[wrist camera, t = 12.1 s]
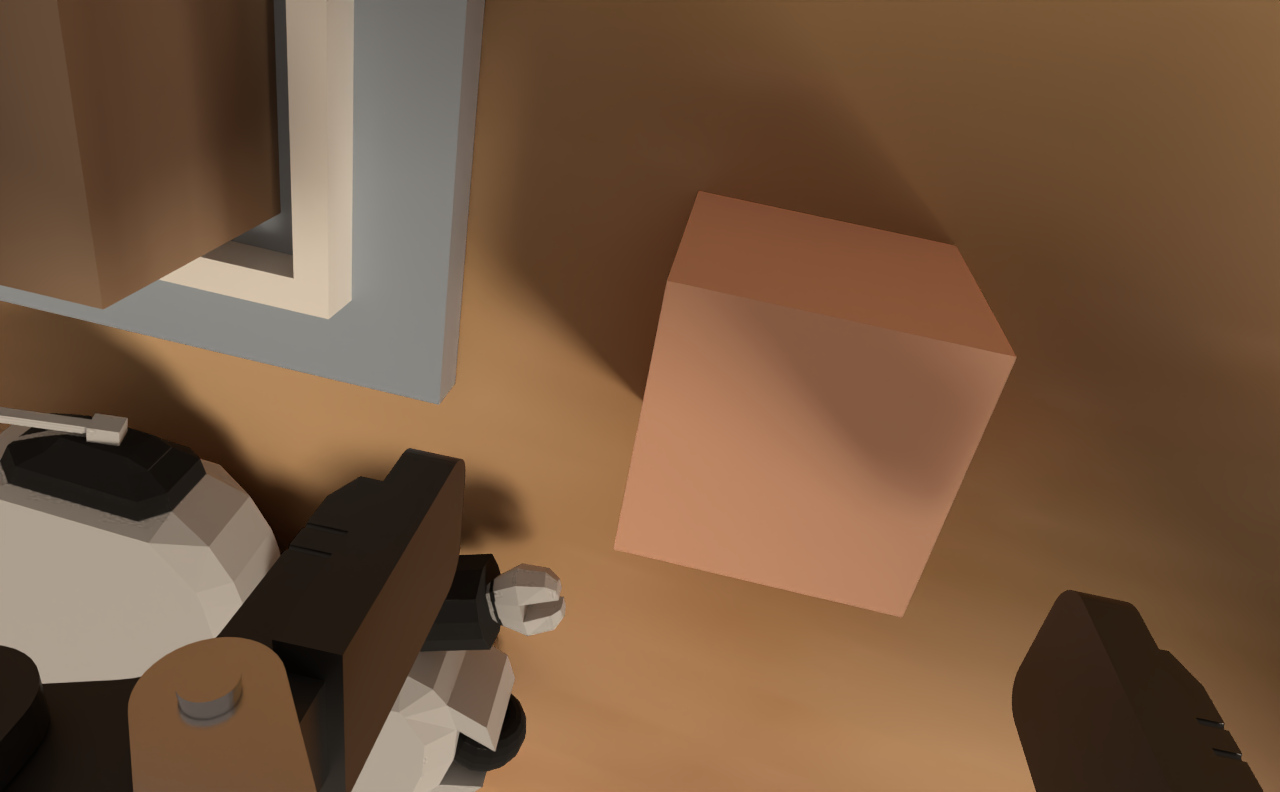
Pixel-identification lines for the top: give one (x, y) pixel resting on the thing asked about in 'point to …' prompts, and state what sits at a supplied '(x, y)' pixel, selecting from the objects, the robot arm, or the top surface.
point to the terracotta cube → (810, 403)
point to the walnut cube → (131, 139)
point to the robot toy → (227, 589)
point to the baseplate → (343, 207)
